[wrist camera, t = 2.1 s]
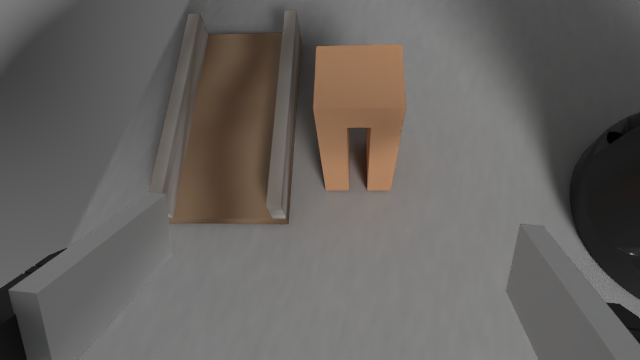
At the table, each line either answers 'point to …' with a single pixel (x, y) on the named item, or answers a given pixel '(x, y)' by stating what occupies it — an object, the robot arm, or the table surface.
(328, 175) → the clip
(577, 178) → the robot arm
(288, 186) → the rail
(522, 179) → the table surface
